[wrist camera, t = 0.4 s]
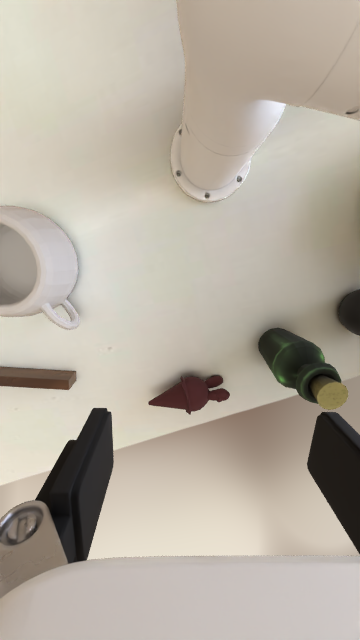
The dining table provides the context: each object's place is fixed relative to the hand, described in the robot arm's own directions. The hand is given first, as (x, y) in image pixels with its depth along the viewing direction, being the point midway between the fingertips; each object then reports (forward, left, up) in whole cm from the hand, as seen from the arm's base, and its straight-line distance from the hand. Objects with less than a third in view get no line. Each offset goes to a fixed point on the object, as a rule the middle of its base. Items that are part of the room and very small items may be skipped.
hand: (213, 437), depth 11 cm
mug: (-2, -25, -35) cm, 43 cm away
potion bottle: (+8, +18, -35) cm, 40 cm away
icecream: (+18, +2, -35) cm, 39 cm away
